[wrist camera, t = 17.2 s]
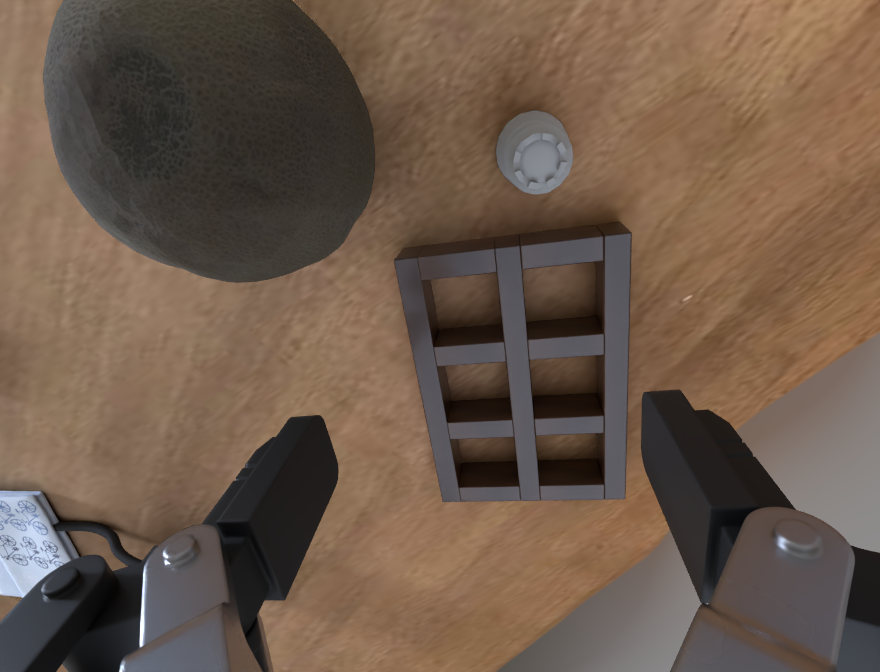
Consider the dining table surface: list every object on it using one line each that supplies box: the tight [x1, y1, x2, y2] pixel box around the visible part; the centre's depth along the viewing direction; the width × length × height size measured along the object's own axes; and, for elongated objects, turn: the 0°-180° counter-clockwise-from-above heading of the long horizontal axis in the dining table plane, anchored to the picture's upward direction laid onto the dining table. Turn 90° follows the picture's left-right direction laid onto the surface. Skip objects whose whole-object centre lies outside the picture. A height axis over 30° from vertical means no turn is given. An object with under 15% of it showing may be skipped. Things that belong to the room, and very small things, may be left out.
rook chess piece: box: [496, 110, 573, 195], centre depth 25 cm, size 4×4×8 cm
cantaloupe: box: [43, 0, 375, 283], centre depth 23 cm, size 14×14×15 cm
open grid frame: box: [394, 222, 632, 502], centre depth 34 cm, size 15×21×3 cm
